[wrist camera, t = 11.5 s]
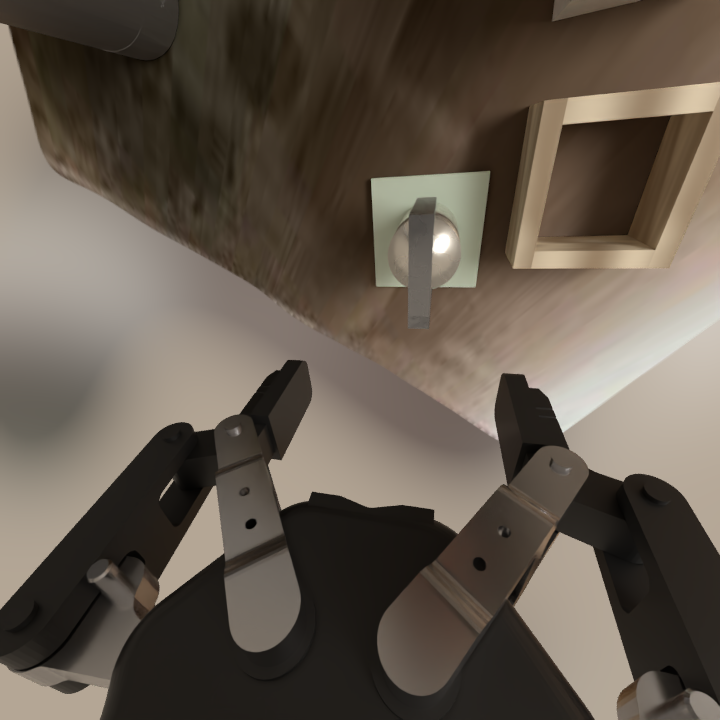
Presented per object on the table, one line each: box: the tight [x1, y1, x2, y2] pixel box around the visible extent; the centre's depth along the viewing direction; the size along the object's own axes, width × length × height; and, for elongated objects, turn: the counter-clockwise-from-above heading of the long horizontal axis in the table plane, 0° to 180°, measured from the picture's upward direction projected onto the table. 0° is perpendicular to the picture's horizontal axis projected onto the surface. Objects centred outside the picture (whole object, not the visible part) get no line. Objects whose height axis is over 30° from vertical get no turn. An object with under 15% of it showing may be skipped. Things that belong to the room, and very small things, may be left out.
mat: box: [371, 171, 490, 287], centre depth 34 cm, size 11×11×1 cm
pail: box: [388, 197, 461, 329], centre depth 28 cm, size 6×8×13 cm
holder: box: [505, 82, 720, 269], centre depth 27 cm, size 12×12×5 cm
